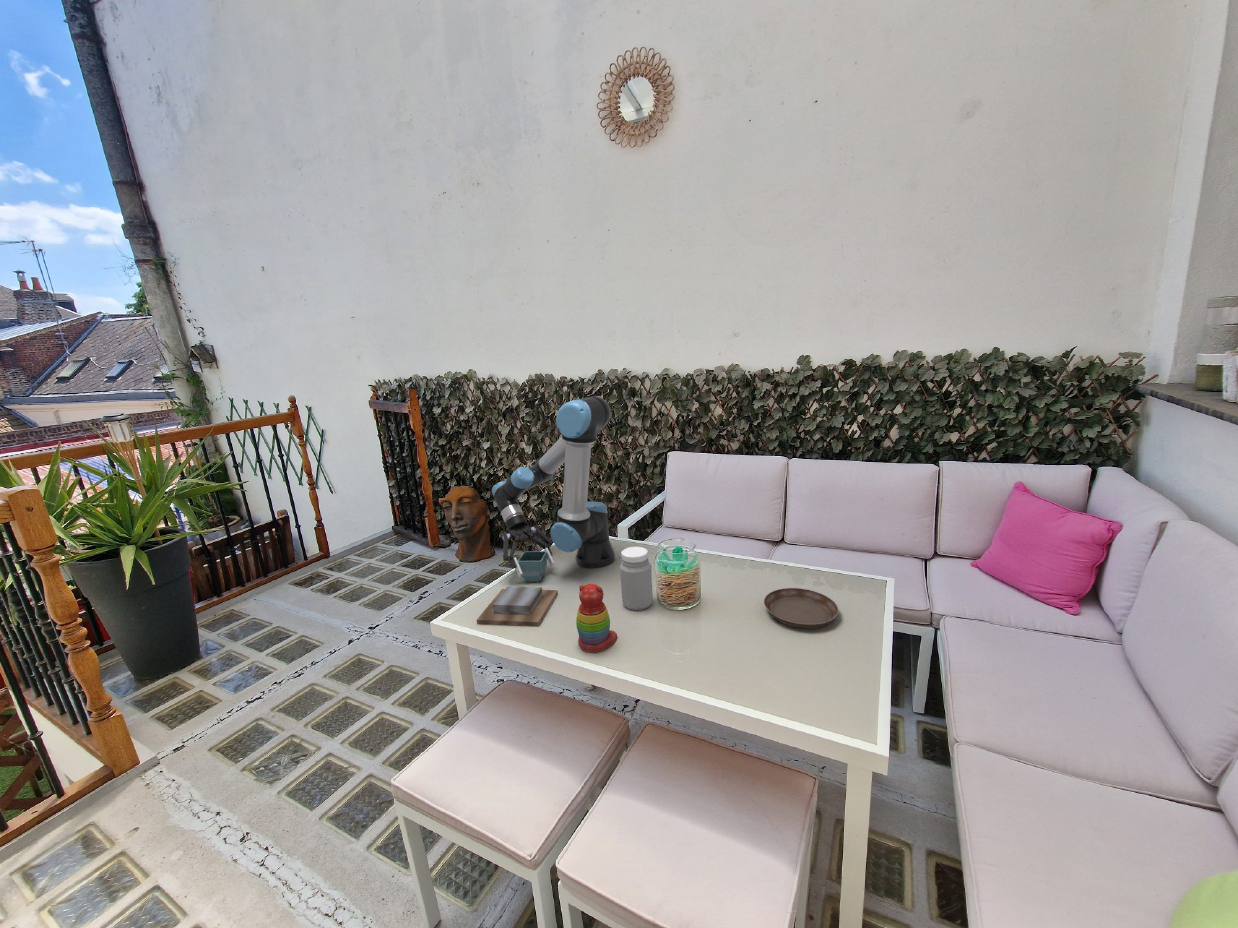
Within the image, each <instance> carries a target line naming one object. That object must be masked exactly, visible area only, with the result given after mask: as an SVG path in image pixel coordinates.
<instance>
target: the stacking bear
mask: <svg viewBox="0 0 1238 928" xmlns="http://www.w3.org/2000/svg"><path fill="white" fill-rule="evenodd" d="M578 589H579V590H578V591H579V593H578V594H579V595H578V598H579V600H580V605H579V606H578V609H577V613H576V619H575V620H576V621H575V624H576V625H575V626H576V629H577V634H578V640H577V641H578V646H579V648H580V649H581V650H583V652H588V653H598V652H602V651H604V650H606V649H608V648H610V647H611V646H612V645H614V644H615V642H616V641H617V639H618V634H617V632H616V631H615V630H612V629H611V618H610V617H611V616H610V614H609V611H608V609H607V606H606V604H605V603H604V602H603V599H604V590H603V588H602V586H600V585H598V584H597V583H587V584H585V585H584V584H580V585H579V586H578Z"/></svg>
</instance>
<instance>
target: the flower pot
mask: <svg viewBox="0 0 1238 928" xmlns="http://www.w3.org/2000/svg"><path fill="white" fill-rule="evenodd" d="M517 562H518V564H519V566H520V568H521V571H522V573H523V574H522V575H521V577H522V578H523V580H525V582H527V583H528V582H540V581H541V580H542V578H543V577H544V574H545V572H546V568H547V562H548V560H547V551H544V550H540V551H531V550H530V551H529V550H528V551H523V552H522V553H521V555H520V557H518V559H517Z"/></svg>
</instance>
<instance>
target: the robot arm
mask: <svg viewBox="0 0 1238 928" xmlns="http://www.w3.org/2000/svg"><path fill="white" fill-rule="evenodd" d="M610 407H611V406H610V405H609V404H608V402H607V401H606V400H605V399H604V398H602V397H599V396H596V395H593V396H592V395H591V396H588V397H583V398H578V399H573V400H570V401H568V402H565V403H564V404H563V405H562V406H561V407H559V409H558V411H557V414H556V418H555V419H556V420H555V421H556V422H555V423H556V427H557V429H558V430H559V433H560V434H561V436H560V437H559V439H557V441H556V442H555V443H553V445H552V446H551V447H550V448H549V449H548V450H547V451H546V452H545V453H544V454H543V456H542V457H540V459H539V460H538V461H537V462H536V463H535V464H534V465H533V466H530V467H526V466H520V467H518V468H517V469H516V470H514V471H513V472H512V474H511V476H509V477H508V479H507V480H502V481H499V482H497V483H496V484H494V485H493V486H492V488H491V493H492V495H493V499H494V501H495V503H496V505H497V508H498V510H499V512H500V514H501V516H502V520H503V522H504V523H505V527H506V529H507V531H508V533H503V534H502V537H501V538H502V542H503V551H502V552H503V553H502V560H503V562H507V561H508V562H509V563H510V565H511V568H512V569H513V570H514V569H515V571H516V573H517V576H518V578H520V577H522V574H523V573H522V571H521V568H520V566H519V564H518V562H517V561H518V559H517V557H514V556H515V552H516V549H517V546H518V543H523V542H527V541H530V542H532V543H534V544H535V545H537V546H538V547H540V548H542V549H543V551H547V562H548V564H549V566H550V568H551V567H553V566H554V564H555V561H554V559H553V552H552V550H551V547H552V546H553V544H554V545H555V546H556V547H557V548H558V549H559V550H560V551H562V552H565V553H572V552H575V551H576V554H575V561H576V564H577V565H579V566H580V567H582V568H589V569H593V568H595V569H597V568H602V567H605V566H608V565H610V564H612V563H614V562H615V560H616V552H615V550H614V548H613V545H612V542H611V541H610V534H609V533H610V531H609V519H608V518H609V516H608V513H609V512H608V508H607V505H606V503H604V502H601V501H588V497H589V495H588V493H589V478H590V466H591V465H590V464H591V455H592V454H591V452H592V445H594V443H596V442H597V434H598V433H599V432H600V431H601V430H603V428H605V427H606V426H607V424H609V422H610V419H611V415H612V413H611V411H612V410H611V408H610ZM563 464H564V472H563V473H564V474H563V487H562V488H563V489H562V490H563V491H562V506H561V508H559V509H558V511H557V516H556V517H557V521H556V522H555V523H554V524H553V525H552V526H551V528H550V533H549V534H550V538H549V537H548V536H547V535H546V534H545V533H544V532H543V531H542V530H541V529H540V527H539V526H538V525H537V524H534V526H532V527H530V525H529V524H528V521H527V519H526V517H525V515H524V512H523V510H522V508H521V505H520V503H519V501H518V499H520V497H521V496H522V495H523V494H524V493H525V492H526V491H527V490H531V489H532V488H535V487H536V486H539V485H541V484H543V483H547V482H549V480H552V479H553V477H554V475H555V472H556V471H557V470H558V469H560V467H561V466H562V465H563ZM509 539H512V540H513V543H512V547H511V549H510V550H511V551H510V553H509Z"/></svg>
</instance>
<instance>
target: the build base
mask: <svg viewBox="0 0 1238 928" xmlns="http://www.w3.org/2000/svg"><path fill="white" fill-rule="evenodd" d="M558 595H559V592H558V590H557V589H543V588H542V586H541V587H539V586H537V587H536V586H507V587H506V588H501V589H500V591H499V592H498V593H497V594H496V596H495V597H494V598H493V600H491V602H490V603H489V604H488V605H487V607H485V609H484V610H483V612H481V614H480V615H479V616H478V617H477V619H476V624H477V625H484V626H485V625H490V626H515V627H516V626H517V627H518V626H519V627H540V626H541V624H542V623H543V620H544V619H545V617H546V616H547V614H548V612H549V610H550V608H551V607H552V605H553V604H554V602H555V600H556V598H557V597H558Z"/></svg>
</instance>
